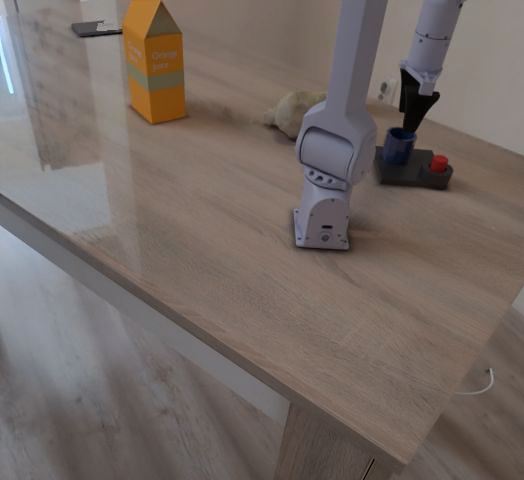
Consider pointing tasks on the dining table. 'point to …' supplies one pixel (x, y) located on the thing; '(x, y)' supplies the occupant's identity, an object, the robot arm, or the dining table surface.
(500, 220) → the dining table surface
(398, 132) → the blue plastic cup
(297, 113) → the ginger root
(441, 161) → the button
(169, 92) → the orange juice
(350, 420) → the dining table surface
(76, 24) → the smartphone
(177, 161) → the dining table surface
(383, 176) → the scale
